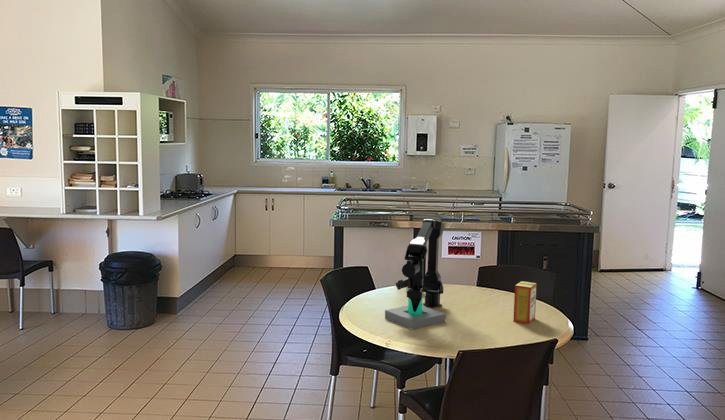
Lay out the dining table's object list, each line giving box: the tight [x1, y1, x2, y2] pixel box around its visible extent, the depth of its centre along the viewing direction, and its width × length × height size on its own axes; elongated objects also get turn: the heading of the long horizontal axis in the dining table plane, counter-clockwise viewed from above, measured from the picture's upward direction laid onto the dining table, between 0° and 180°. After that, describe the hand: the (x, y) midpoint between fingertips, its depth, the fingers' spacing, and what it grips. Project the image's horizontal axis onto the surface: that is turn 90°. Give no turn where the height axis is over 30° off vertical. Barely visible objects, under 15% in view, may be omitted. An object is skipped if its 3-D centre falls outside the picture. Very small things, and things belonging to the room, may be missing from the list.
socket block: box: [384, 305, 447, 330], centre depth 247 cm, size 18×18×4 cm
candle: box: [407, 292, 424, 316], centre depth 246 cm, size 6×6×12 cm
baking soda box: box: [513, 280, 538, 325], centre depth 250 cm, size 10×6×16 cm
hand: (415, 308), depth 247 cm, fingers open, 7 cm apart
